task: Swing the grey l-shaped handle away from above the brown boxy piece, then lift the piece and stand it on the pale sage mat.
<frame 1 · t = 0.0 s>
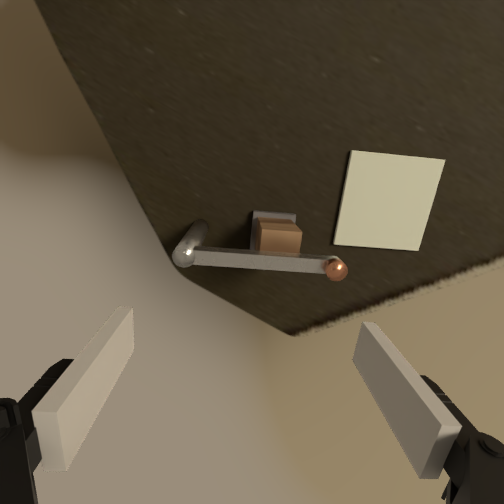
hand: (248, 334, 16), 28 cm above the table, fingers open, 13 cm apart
sage mat: (385, 203, 42), on the table
grey l-shaped handle: (256, 245, 35), point 8 cm above the table, hinge at 0.0°
brown boxy piece: (271, 232, 43), on the table
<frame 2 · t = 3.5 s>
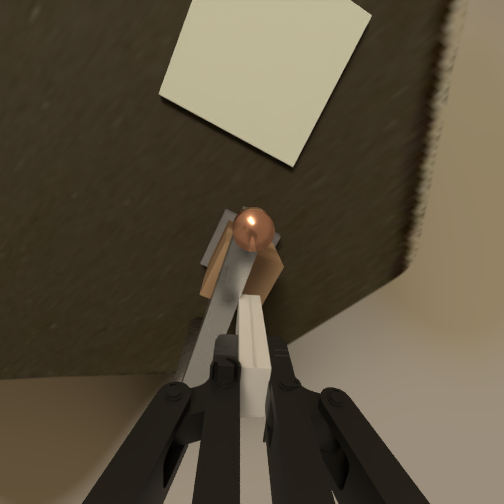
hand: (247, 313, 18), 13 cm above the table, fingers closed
sage mat: (262, 58, 25), on the table
grey l-shaped handle: (216, 298, 24), point 7 cm above the table, hinge at 6.9°, touching gripper
brown boxy piece: (239, 247, 30), on the table
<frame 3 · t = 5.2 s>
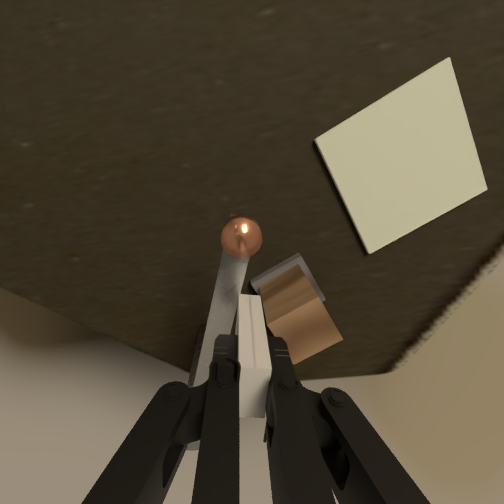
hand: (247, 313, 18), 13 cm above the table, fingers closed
sage mat: (402, 165, 29), on the table
grey l-shaped handle: (218, 303, 24), point 7 cm above the table, hinge at 45.9°, touching gripper
brown boxy piece: (287, 287, 33), on the table
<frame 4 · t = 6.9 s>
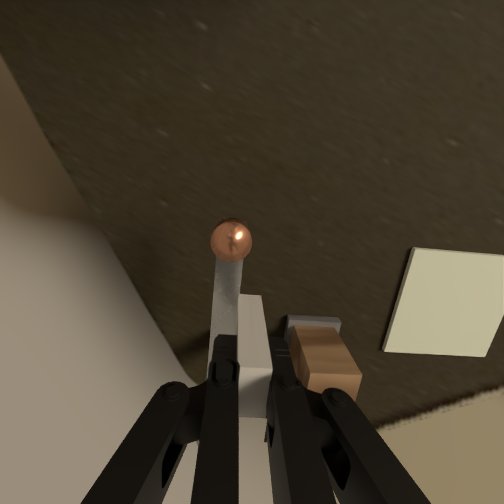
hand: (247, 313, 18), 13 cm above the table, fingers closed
sage mat: (449, 304, 34), on the table
grey l-shaped handle: (224, 306, 24), point 7 cm above the table, hinge at 89.2°, touching gripper
brown boxy piece: (308, 337, 35), on the table
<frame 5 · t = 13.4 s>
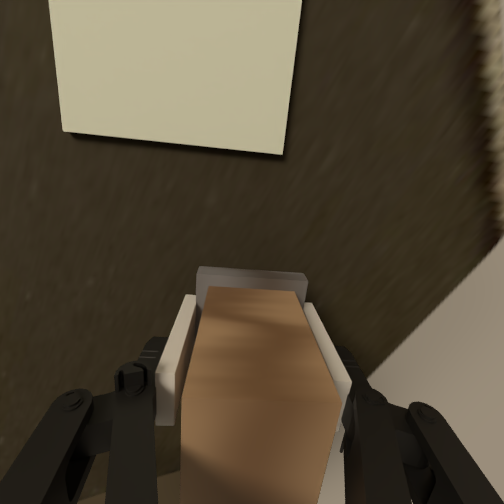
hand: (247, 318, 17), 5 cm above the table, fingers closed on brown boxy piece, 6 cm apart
sage mat: (178, 15, 16), on the table
brown boxy piece: (247, 315, 18), point 4 cm above the table, touching gripper
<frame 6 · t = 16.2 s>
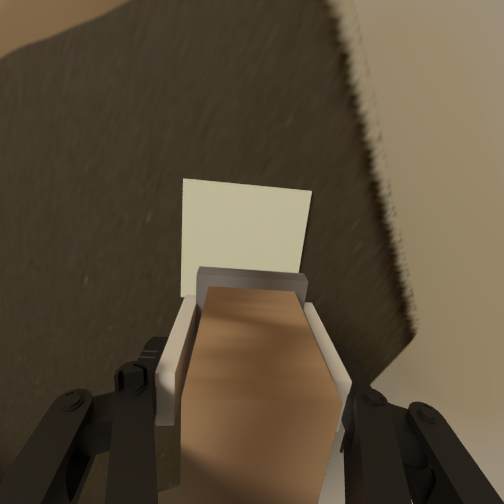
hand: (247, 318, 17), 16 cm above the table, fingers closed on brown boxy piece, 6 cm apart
sage mat: (242, 245, 32), on the table
brown boxy piece: (247, 315, 18), point 15 cm above the table, touching gripper
when the fingers open (2 cm above the table, at t = 19.0 s): brown boxy piece stays where it is, resting on sage mat.
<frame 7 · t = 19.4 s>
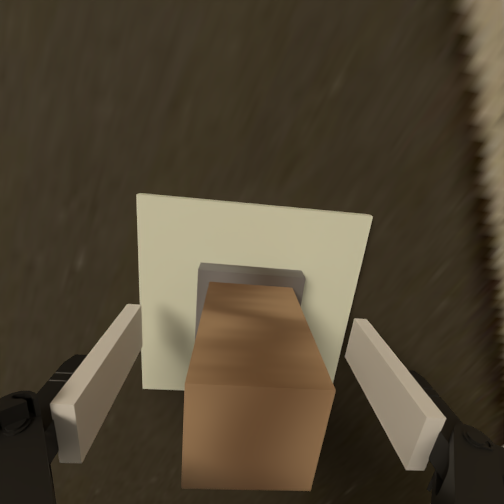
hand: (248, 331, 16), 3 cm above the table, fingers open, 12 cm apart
sage mat: (247, 305, 19), on the table
brown boxy piece: (246, 310, 18), point 1 cm above the table, touching sage mat
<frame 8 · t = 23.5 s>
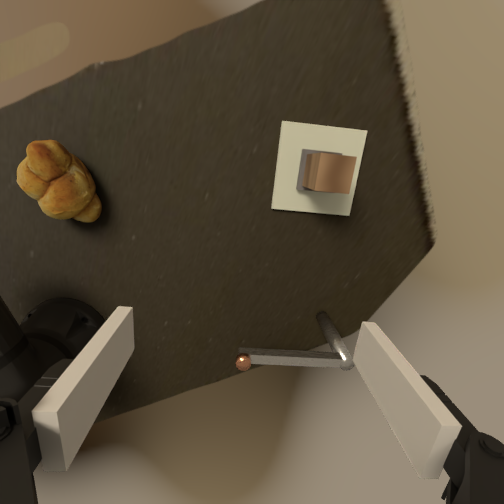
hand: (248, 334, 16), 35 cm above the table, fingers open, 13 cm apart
bread roll: (73, 186, 46), on the table
sage mat: (316, 171, 47), on the table
grey l-shaped handle: (289, 336, 48), point 8 cm above the table, hinge at 90.1°
brown boxy piece: (317, 171, 46), point 1 cm above the table, touching sage mat
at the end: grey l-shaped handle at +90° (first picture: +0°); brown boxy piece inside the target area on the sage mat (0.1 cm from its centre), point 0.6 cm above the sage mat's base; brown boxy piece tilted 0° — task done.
